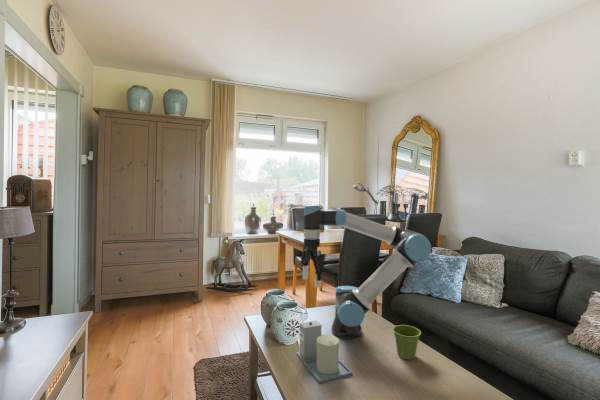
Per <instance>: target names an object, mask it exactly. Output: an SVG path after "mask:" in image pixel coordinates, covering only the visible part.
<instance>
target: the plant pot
mask: <svg viewBox="0 0 600 400" xmlns="http://www.w3.org/2000/svg"><path fill="white" fill-rule="evenodd" d="M392 331H393V334H394V335H393V336H394V337H395V345H396V351H397V356H398V357H399V358H401V359H406V360H408V361H409V360H410V361H411V360H414V359H416V354H417V348H418V342H419V340H420V336H421V334H422V331H421V329H419V328H417V327H414V326H411V325H406V324H400V325H399V324H398V325H395V326H393V327H392Z"/></svg>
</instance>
